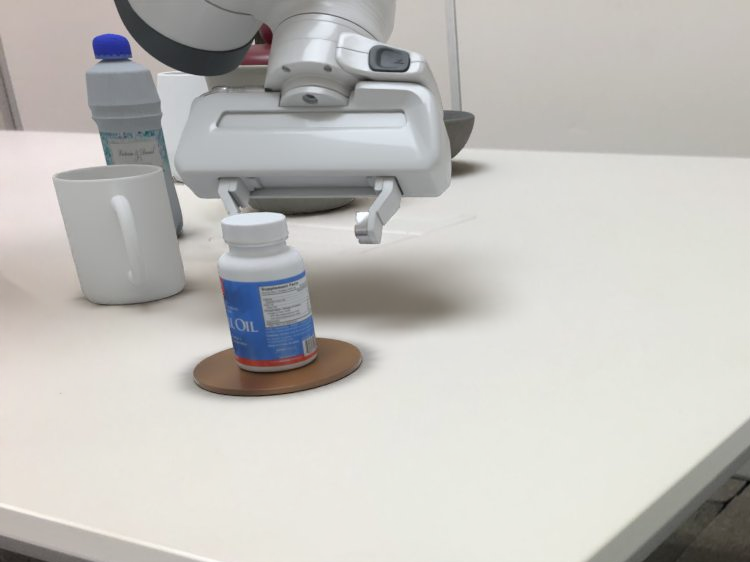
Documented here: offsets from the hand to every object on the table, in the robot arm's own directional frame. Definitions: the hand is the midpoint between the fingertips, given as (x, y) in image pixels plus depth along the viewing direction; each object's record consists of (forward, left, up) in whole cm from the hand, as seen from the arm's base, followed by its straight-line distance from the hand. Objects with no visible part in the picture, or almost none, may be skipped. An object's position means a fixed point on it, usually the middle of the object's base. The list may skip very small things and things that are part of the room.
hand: (303, 240), depth 74 cm
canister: (-6, +53, -7) cm, 54 cm away
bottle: (-20, +39, -7) cm, 44 cm away
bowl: (+6, +77, -7) cm, 78 cm away
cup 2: (-21, +80, -7) cm, 83 cm away
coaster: (-2, -8, -7) cm, 11 cm away
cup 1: (-16, +14, -7) cm, 22 cm away
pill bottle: (-2, -8, -7) cm, 11 cm away
